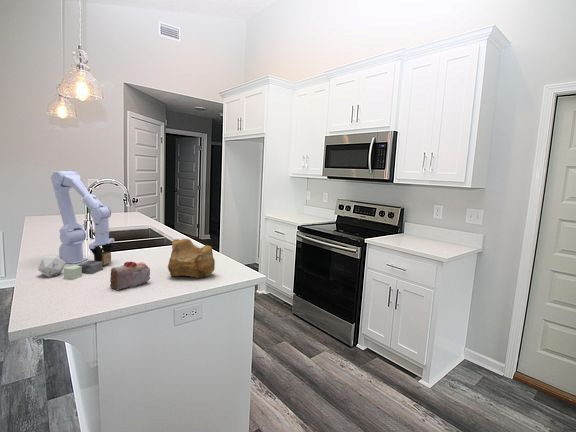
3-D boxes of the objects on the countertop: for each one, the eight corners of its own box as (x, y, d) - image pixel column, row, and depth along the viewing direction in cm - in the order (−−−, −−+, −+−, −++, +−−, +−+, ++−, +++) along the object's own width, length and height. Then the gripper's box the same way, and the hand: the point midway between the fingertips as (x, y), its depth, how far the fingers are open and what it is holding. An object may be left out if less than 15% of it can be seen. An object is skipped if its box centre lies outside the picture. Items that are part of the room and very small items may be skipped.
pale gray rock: (33, 279, 134) (42, 263, 131) (37, 264, 140) (46, 248, 137) (57, 283, 139) (66, 267, 136) (60, 268, 146) (68, 252, 143)
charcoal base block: (78, 273, 143) (78, 264, 142) (89, 269, 149) (89, 260, 149) (92, 274, 142) (92, 265, 142) (102, 270, 148) (102, 261, 148)
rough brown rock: (153, 275, 145) (151, 244, 142) (181, 264, 160) (180, 235, 156) (191, 288, 135) (190, 254, 131) (218, 274, 149) (217, 243, 145)
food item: (141, 279, 139) (141, 256, 137) (151, 283, 134) (151, 260, 133) (108, 287, 128) (107, 263, 127) (118, 292, 123) (117, 267, 122)
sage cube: (64, 278, 135) (63, 268, 134) (72, 275, 139) (72, 265, 139) (73, 279, 134) (73, 269, 134) (81, 276, 139) (81, 266, 138)
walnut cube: (94, 264, 152) (93, 253, 152) (101, 261, 157) (101, 251, 156) (103, 265, 152) (103, 254, 151) (111, 262, 156) (110, 252, 156)
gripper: (98, 235, 145) (99, 265, 146) (119, 230, 159) (120, 256, 161) (84, 234, 146) (85, 263, 147) (106, 229, 160) (107, 255, 162)
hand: (102, 260), depth 154 cm, fingers closed on walnut cube, 5 cm apart
